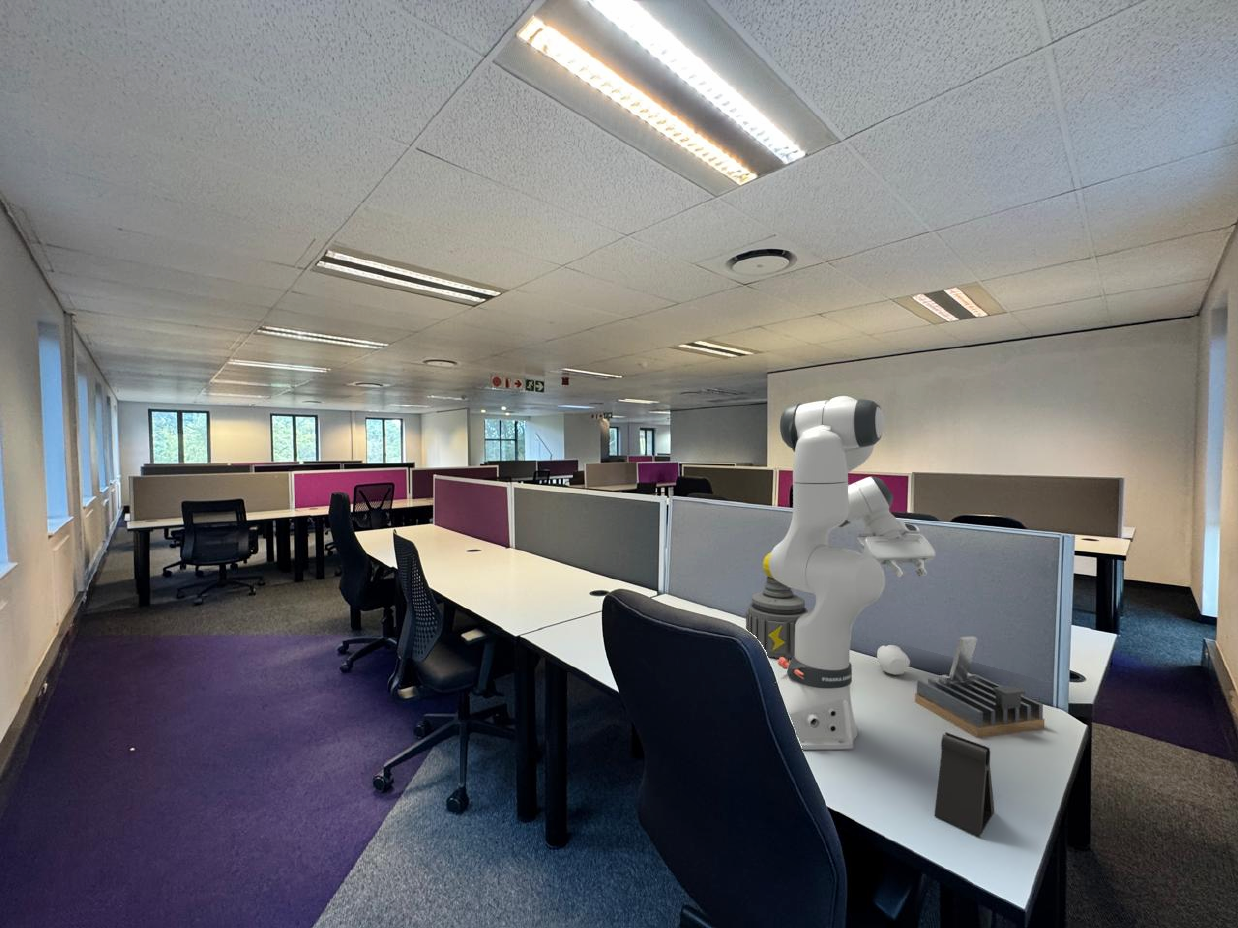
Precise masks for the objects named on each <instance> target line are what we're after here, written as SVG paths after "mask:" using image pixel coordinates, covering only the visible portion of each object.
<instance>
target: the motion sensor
mask: <svg viewBox="0 0 1238 928" xmlns="http://www.w3.org/2000/svg"><path fill="white" fill-rule="evenodd" d="M876 659H877V663H878V665H879V668H880V669H882V670H883V671H884V672H885V673H887V674H889V675H892V676H893V675H894V676H896V675H902V674H904V673H906V672H907V670H908V669H909V668H910V665H911V660H910V659H909V656H908V655H907V654H906V653H905V652H904V651H902V650H901V647H899V646H897V645H894V644H889V645H881V646H880V647H879V648H878V649H877V655H876Z"/></svg>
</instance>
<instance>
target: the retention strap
mask: <svg viewBox="0 0 1238 928" xmlns="http://www.w3.org/2000/svg"><path fill="white" fill-rule="evenodd" d="M977 641H978V638H977V637H975V636H971V635H970V636H962V637H959V639H958V642H957V645H956V650H955V653H954V657H953V660H952V665H951V668H950V671H949V675H948V676H949V677H951V682H953V681H963V680H967V674H968V673H969V670H970V667H971V663H972V659H973V655H974V653H975V648H976V645H977Z"/></svg>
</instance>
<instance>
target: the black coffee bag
mask: <svg viewBox="0 0 1238 928" xmlns="http://www.w3.org/2000/svg"><path fill="white" fill-rule="evenodd" d="M944 732H945V731H944ZM940 745H941V747H940V748H941V750H940V751H941V756H940V762H939V772H938V781H937V789H936V798H935V799H936V800H935V808H934V817H935V818H938V819H939V820H942V821H943V822H946V823H948V824H950V825H952V826H954V827H957V828H958V829H960V830H962V831H965V832H967V833H969V834H971V835H973V836H975V837H977V838H980V837H981V835H982V834H983V832H984V830H985V829H986V827H987V825H988V823H990V820H991V818H993V817H992V816H993V815H994V813H995V802H994V793H993V783H992V782H993V781H992V773H991V772H992V771H991V749H990V747H989V746H985V745H982V744H980V743H977V742H974V741H971V740H969V739H966V738H964V737H961V736H958V735H955V734H952V733H950V732H949V733H948V732H945V733H943V734H942V738H941V744H940Z"/></svg>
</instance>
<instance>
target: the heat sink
mask: <svg viewBox="0 0 1238 928" xmlns="http://www.w3.org/2000/svg"><path fill="white" fill-rule="evenodd" d="M1025 694H1026V690H1023V689H1021V688H1018V687H1017V686H1014V685H1005V686H1003V685H1001V684H998V683H996V682H994V681H991V680H989V679H987V678H984V677H983V676H980V675H978V674H975V673H970V672H968V674H967V680H963V681H953V682H951V677H949V675H947V674H942V675H941V674H940V676H939V677H938V680H935V679H934V678H928V679H927V682H926V681H924V680H923V679H917V680H916V692H915V693H914V702H915V703H917V704H919V705H920V706H921V707H923V708H925V709H927V710H928V711H930V712H932V713H933V714H935V715H937V716H938V717H940V718H942V719H943V720H945V721H947V722H950V723H951V724H952V725H954V726H956V727H957V728H958V729H961V730H963V731H964V732H966V733H967V734H969V735H971V736H973V737H975V738H984V737H992V736H998V735H1005V734H1012V733H1020V732H1026V731H1028V732H1029V731H1033V730H1034V731H1035V730H1040V729H1045V718H1044V717H1043V716H1044V715H1043V714H1044V712H1043V711H1044V709H1043V708H1044V704H1043V703H1041V702H1038V701H1036V700H1034V699H1032V698H1029V697H1028V696H1025Z"/></svg>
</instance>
